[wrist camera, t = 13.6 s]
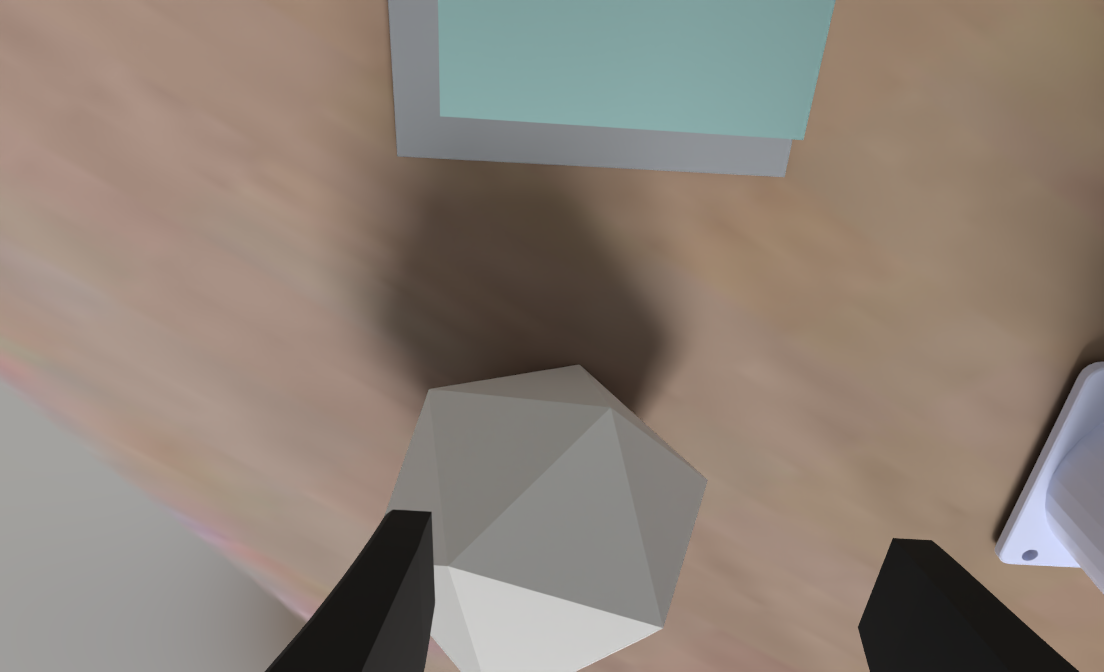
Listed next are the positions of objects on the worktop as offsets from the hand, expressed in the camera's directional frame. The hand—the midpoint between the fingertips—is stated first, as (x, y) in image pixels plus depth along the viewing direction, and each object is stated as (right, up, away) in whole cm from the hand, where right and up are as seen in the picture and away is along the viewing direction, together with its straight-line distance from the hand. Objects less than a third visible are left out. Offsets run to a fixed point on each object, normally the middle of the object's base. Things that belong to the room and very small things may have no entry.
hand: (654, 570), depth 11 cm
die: (-2, +1, +12) cm, 12 cm away
